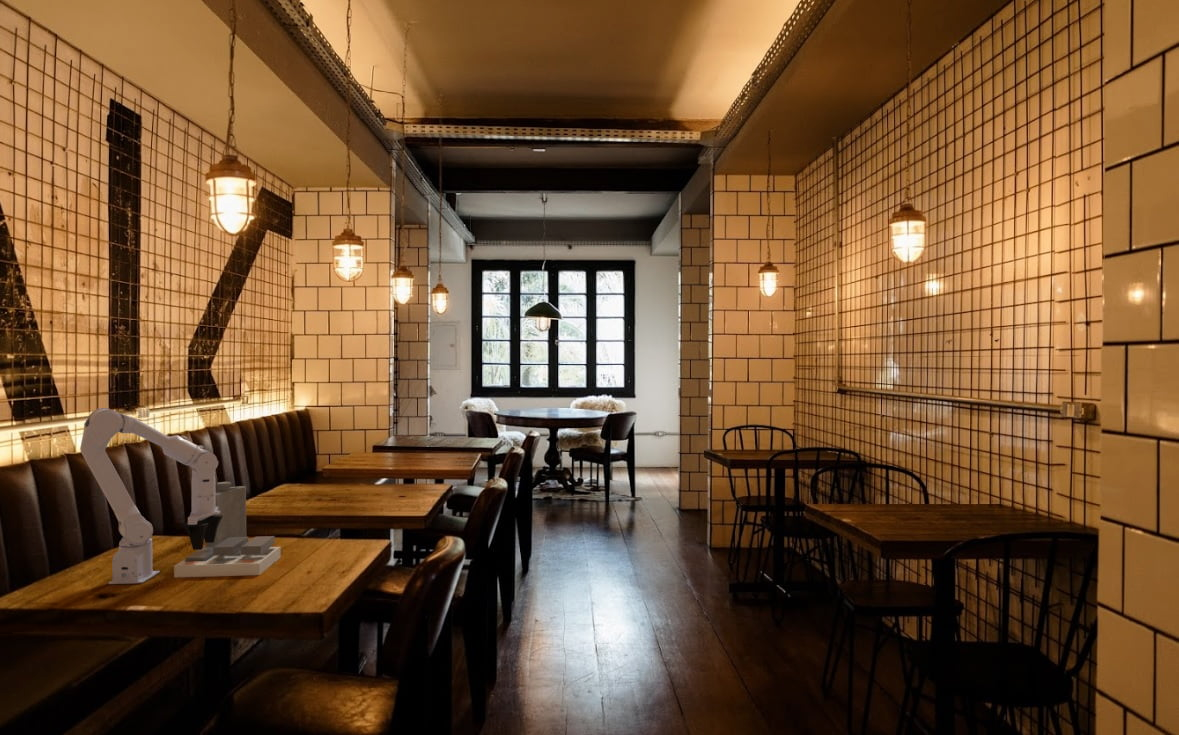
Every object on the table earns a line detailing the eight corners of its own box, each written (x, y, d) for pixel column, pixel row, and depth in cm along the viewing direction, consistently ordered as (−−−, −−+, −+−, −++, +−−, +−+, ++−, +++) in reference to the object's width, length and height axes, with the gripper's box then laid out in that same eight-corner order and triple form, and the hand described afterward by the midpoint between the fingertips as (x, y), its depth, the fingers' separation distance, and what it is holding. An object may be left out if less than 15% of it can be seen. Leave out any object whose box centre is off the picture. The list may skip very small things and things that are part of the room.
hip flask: (213, 558, 209) (212, 487, 209) (200, 557, 210) (199, 486, 210) (248, 544, 225) (248, 477, 225) (236, 543, 226) (235, 477, 225)
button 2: (260, 554, 196) (260, 546, 196) (240, 554, 196) (240, 546, 196) (274, 544, 207) (274, 536, 207) (255, 544, 207) (255, 536, 207)
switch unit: (259, 574, 193) (259, 562, 193) (174, 577, 191) (174, 564, 191) (280, 557, 210) (280, 546, 210) (202, 559, 208) (202, 548, 208)
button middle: (233, 555, 196) (232, 546, 196) (213, 555, 195) (213, 547, 195) (248, 544, 207) (248, 536, 207) (229, 545, 206) (229, 537, 206)
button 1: (205, 565, 195) (205, 557, 195) (185, 566, 195) (185, 558, 195) (222, 554, 206) (222, 546, 206) (203, 555, 206) (203, 547, 206)
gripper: (207, 500, 193) (208, 552, 194) (229, 490, 208) (229, 539, 208) (179, 500, 193) (179, 553, 193) (203, 490, 207) (203, 539, 207)
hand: (203, 545), depth 200 cm, fingers open, 7 cm apart
